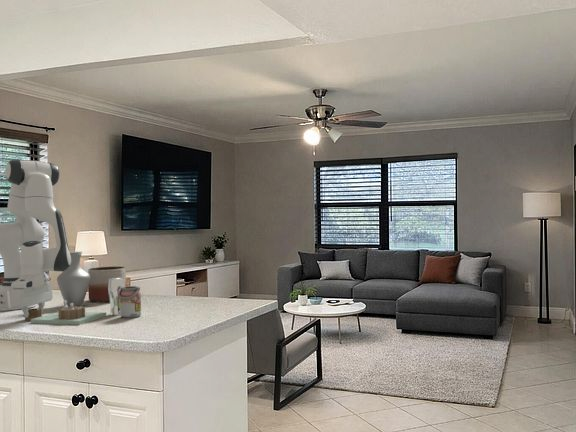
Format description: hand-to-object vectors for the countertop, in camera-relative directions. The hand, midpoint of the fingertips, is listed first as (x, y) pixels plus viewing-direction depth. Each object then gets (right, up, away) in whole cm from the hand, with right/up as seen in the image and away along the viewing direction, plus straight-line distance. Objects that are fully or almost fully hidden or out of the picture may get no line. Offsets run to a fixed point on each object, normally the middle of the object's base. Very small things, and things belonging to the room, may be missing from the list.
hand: (33, 315), depth 230 cm
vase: (+4, -2, +33) cm, 33 cm away
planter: (+15, -1, +49) cm, 51 cm away
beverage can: (+39, -1, +1) cm, 39 cm away
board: (+15, -1, -2) cm, 16 cm away
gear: (0, -2, 0) cm, 2 cm away
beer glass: (+32, -1, +8) cm, 33 cm away
